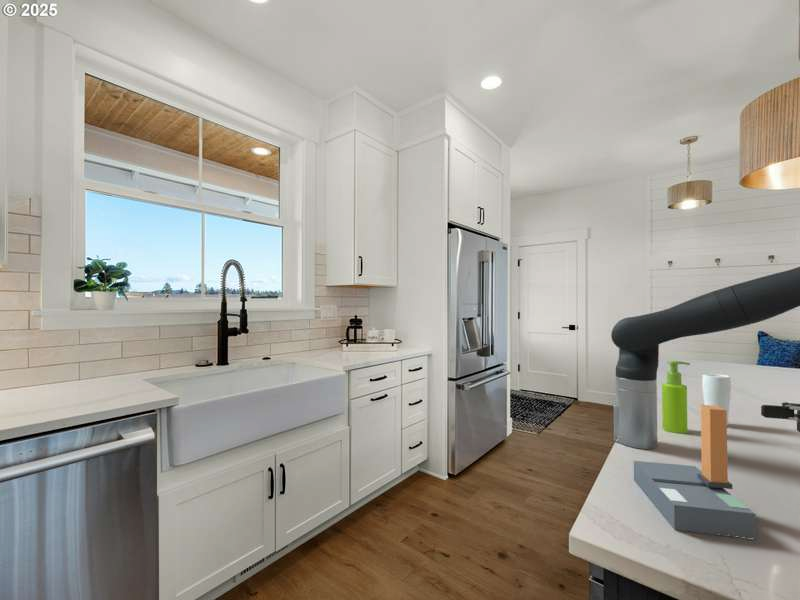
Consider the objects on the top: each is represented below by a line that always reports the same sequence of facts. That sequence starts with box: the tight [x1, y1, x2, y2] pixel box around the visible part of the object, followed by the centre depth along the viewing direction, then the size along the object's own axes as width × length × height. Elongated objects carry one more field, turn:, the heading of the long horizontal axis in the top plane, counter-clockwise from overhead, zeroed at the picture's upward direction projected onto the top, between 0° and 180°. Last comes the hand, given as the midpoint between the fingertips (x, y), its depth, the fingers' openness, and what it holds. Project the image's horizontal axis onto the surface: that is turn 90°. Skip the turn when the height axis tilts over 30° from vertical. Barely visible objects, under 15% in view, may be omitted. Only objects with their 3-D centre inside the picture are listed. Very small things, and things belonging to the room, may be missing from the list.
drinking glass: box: [701, 373, 732, 427], centre depth 116 cm, size 7×7×15 cm
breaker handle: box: [697, 404, 733, 490], centre depth 68 cm, size 4×4×14 cm
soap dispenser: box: [661, 360, 690, 434], centre depth 110 cm, size 6×7×20 cm
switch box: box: [633, 460, 757, 540], centre depth 69 cm, size 11×18×4 cm, turn 166°
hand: (779, 417), depth 66 cm, fingers open, 8 cm apart
